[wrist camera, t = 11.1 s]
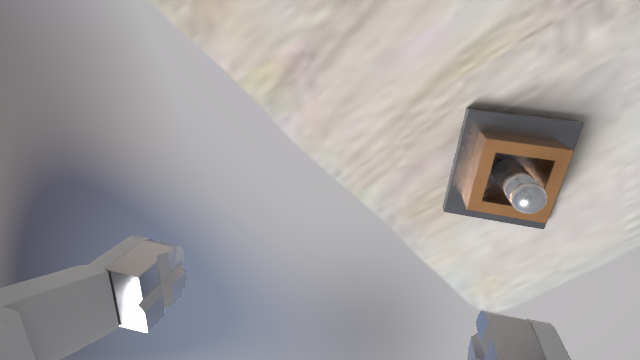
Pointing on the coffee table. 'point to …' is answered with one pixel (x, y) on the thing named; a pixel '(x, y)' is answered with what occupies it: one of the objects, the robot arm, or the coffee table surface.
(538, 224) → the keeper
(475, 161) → the wooden square frame
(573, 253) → the coffee table surface
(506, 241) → the coffee table surface
